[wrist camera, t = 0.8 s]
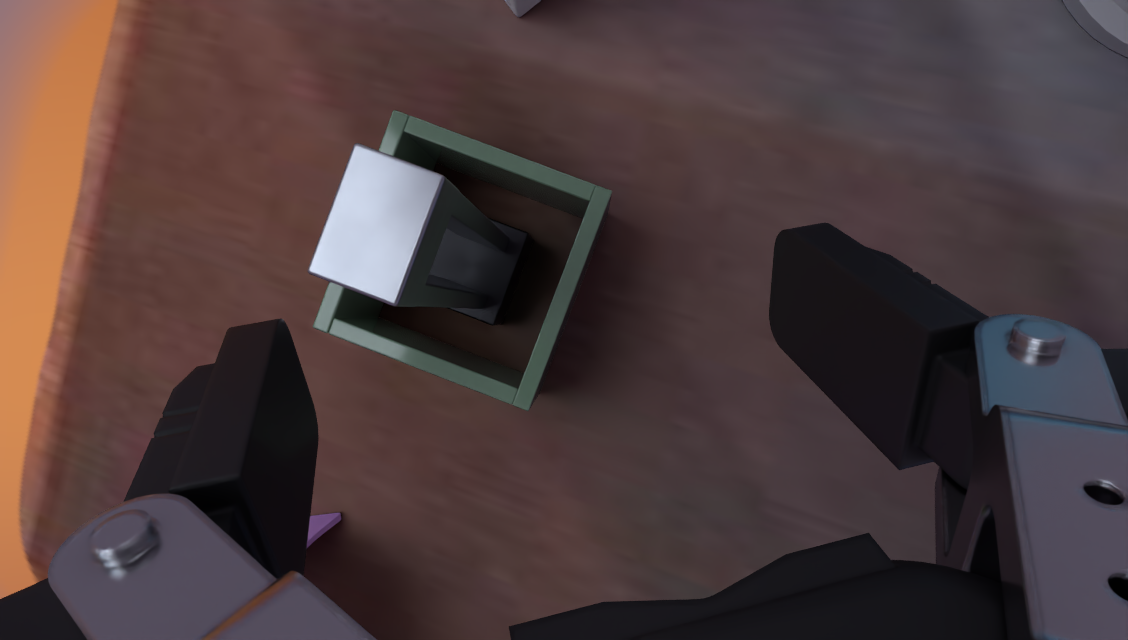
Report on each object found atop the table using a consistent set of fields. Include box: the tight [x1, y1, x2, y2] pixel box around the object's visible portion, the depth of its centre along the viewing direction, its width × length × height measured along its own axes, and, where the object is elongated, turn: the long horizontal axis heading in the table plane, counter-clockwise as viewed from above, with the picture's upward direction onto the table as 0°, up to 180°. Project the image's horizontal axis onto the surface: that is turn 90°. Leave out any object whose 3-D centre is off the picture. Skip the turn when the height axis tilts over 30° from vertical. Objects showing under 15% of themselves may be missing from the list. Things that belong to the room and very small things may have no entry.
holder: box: [313, 110, 612, 411], centre depth 31 cm, size 9×9×6 cm
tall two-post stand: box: [308, 143, 534, 325], centre depth 25 cm, size 4×4×17 cm
